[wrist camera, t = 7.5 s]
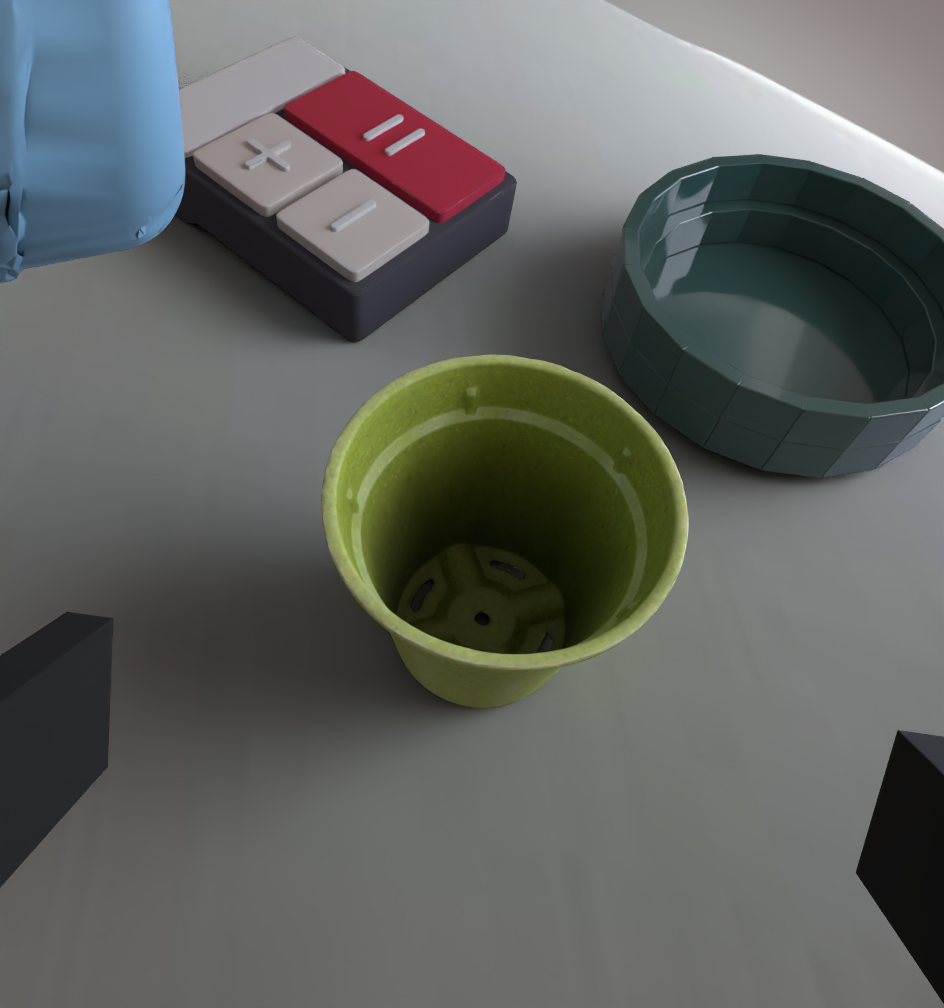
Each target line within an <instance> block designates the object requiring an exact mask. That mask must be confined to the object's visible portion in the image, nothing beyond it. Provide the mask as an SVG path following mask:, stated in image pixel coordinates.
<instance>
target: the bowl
mask: <svg viewBox="0 0 944 1008" xmlns="http://www.w3.org/2000/svg"><path fill="white" fill-rule="evenodd" d="M603 335H604V338H605V340H606V343H607V345H608V347H609V350H610V352H611V355H612V357H613V360H614V362H615V364H616V367H617V369H618V372H619V373H620V376H621V377H622V378H623V379H624V381H625V382H626V383H627V384H628V385H629V386H630V388H631V389H632V390H633V391H634V392H635V393H636V395H637V396H638V397H639V398H640V399H641V400H642V402H643V403H644V404H645V405H646V406H647V407H648V409H649V410H650V411H651V412H652V413H653V414H655V415H656V416H657V417H659V418H660V419H661V420H663V421H664V422H666V423H667V424H669V425H670V426H672V427H673V428H675V429H676V430H677V431H679V432H680V433H682V434H683V435H685V436H686V437H688V438H689V439H691V440H692V441H694V442H695V443H696V444H698V445H699V446H701V447H704V449H707V450H709V451H712V452H715V453H717V454H720V455H722V456H725V457H728V458H730V459H733V460H736V461H738V462H741V463H743V464H746V465H749V466H751V467H754V468H756V469H761V470H762V471H770V472H778V473H786V474H794V475H801V476H809V477H817V478H820V477H829V476H836V475H842V474H849V473H855V472H862V471H869V470H873V469H876V468H878V467H880V466H882V465H883V464H885V463H887V462H889V461H891V460H892V459H894V458H896V457H898V456H900V455H902V454H903V453H905V452H907V451H909V450H911V449H912V448H914V447H915V446H916V445H917V444H918V443H919V442H920V441H921V440H922V439H923V438H924V437H925V436H926V435H927V434H928V433H929V432H930V431H931V430H932V429H933V428H934V427H935V426H936V425H937V424H938V423H939V422H940V421H941V420H942V418H943V417H944V229H943V228H942V227H941V226H940V225H938V224H937V223H936V222H934V221H933V220H932V219H931V218H929V217H928V216H927V215H926V214H924V213H923V212H922V211H920V210H919V209H918V208H917V207H915V206H914V205H913V204H910V202H909V201H907V200H905V199H903V198H901V197H899V196H897V195H895V194H893V193H891V192H889V191H887V190H885V189H884V188H882V187H880V186H878V185H876V184H874V183H872V182H870V181H868V180H866V179H864V178H861V177H858V176H855V175H852V174H849V173H846V172H842V171H839V170H836V169H833V168H830V167H827V166H824V165H820V164H817V163H814V162H811V161H806V160H799V159H791V158H784V157H776V156H769V155H762V154H760V155H759V154H756V155H740V156H725V157H712V158H709V159H706V160H703V161H700V162H697V163H694V164H690V165H687V166H684V167H681V168H678V169H675V170H672V171H671V172H669V173H667V174H666V175H665V176H663V177H662V178H661V179H659V180H658V181H657V182H655V183H654V184H653V185H651V186H650V187H649V188H648V189H646V190H645V191H644V192H642V193H641V194H640V195H639V196H638V198H637V200H636V202H635V204H634V206H633V208H632V210H631V212H630V214H629V216H628V218H627V220H626V222H625V223H624V225H623V228H622V232H621V235H620V239H619V242H618V245H617V249H616V252H615V255H614V259H613V262H612V266H611V269H610V272H609V276H608V279H607V282H606V286H605V289H604V292H603Z"/></svg>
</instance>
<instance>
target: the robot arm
mask: <svg viewBox="0 0 944 1008" xmlns="http://www.w3.org/2000/svg"><path fill="white" fill-rule="evenodd" d="M184 185H185V156H184V141H183V127H182V115H181V105H180V95H179V84H178V75H177V66H176V56H175V47H174V38H173V30H172V21H171V12H170V4H169V0H0V282H8V281H12V280H14V279H16V278H17V277H18V275H19V274H20V272H21V271H22V270H23V269H27V268H32V267H38V266H43V265H48V264H54V263H59V262H64V261H69V260H75V259H80V258H85V257H90V256H96V255H101V254H106V253H112V252H117V251H122V250H127V249H130V248H134V247H137V246H139V245H141V244H144V243H146V242H148V241H150V240H151V239H153V238H154V237H156V236H157V235H158V234H160V233H161V232H162V231H163V230H164V229H165V228H166V226H167V225H168V224H169V223H170V222H171V220H172V218H173V217H174V215H175V213H176V212H177V210H178V207H179V205H180V202H181V200H182V196H183V192H184ZM112 635H113V618H106V617H99V616H92V615H85V614H78V613H71V612H66V613H65V614H63V615H62V616H60V617H59V618H57V619H55V620H54V621H52V622H51V623H49V624H48V625H46V626H45V627H43V628H42V629H40V630H39V631H37V632H36V633H34V634H33V635H31V636H30V637H28V638H26V639H25V640H23V641H22V642H20V643H19V644H17V645H16V646H14V647H13V648H11V649H10V650H8V651H7V652H5V653H4V654H2V655H1V656H0V887H1V886H2V885H3V884H4V883H5V882H6V880H7V879H8V878H9V877H10V876H11V875H12V874H13V873H14V871H15V870H16V869H17V868H18V867H19V866H20V865H21V864H22V862H23V861H24V860H25V859H26V858H27V857H28V856H29V855H30V853H31V852H32V851H33V850H34V849H35V848H36V847H37V846H38V844H39V843H40V842H41V841H42V840H43V839H44V838H45V837H46V835H47V834H48V833H49V832H50V831H51V830H52V829H53V828H54V826H55V825H56V824H57V823H58V822H59V821H60V820H61V819H62V817H63V816H64V815H65V814H66V813H67V812H68V811H69V810H70V808H71V807H72V806H73V805H74V804H75V803H76V802H77V801H78V799H79V798H80V797H81V796H82V795H83V794H84V793H85V792H86V790H87V789H88V788H89V787H90V786H91V785H92V784H93V783H94V781H95V780H96V779H97V778H98V777H99V776H100V775H101V774H102V772H103V771H104V770H105V769H106V768H107V767H108V745H109V718H110V690H111V662H112ZM856 874H857V875H858V877H859V878H860V880H861V881H862V883H863V884H864V886H865V887H866V889H867V890H868V892H869V893H870V895H871V896H872V898H873V899H874V900H875V902H876V903H877V905H878V906H879V908H880V909H881V911H882V912H883V914H884V915H885V917H886V918H887V920H888V921H889V923H890V924H891V926H892V927H893V929H894V930H895V932H896V933H897V935H898V936H899V938H900V939H901V941H902V942H903V944H904V945H905V947H906V948H907V950H908V951H909V953H910V954H911V956H912V957H913V959H914V960H915V962H916V963H917V965H918V966H919V968H920V969H921V971H922V972H923V974H924V975H925V977H926V978H927V979H928V981H929V982H930V984H931V985H932V987H933V988H934V990H935V991H936V993H937V994H938V996H939V997H940V999H941V1000H942V1002H943V1003H944V737H942V736H935V735H928V734H921V733H914V732H907V731H900V730H898V731H897V734H896V737H895V741H894V744H893V748H892V751H891V754H890V758H889V761H888V765H887V768H886V771H885V775H884V778H883V782H882V785H881V788H880V792H879V795H878V799H877V802H876V805H875V809H874V812H873V816H872V819H871V822H870V826H869V829H868V833H867V836H866V839H865V843H864V846H863V850H862V853H861V856H860V860H859V863H858V867H857V870H856Z"/></svg>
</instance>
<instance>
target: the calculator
mask: <svg viewBox="0 0 944 1008" xmlns="http://www.w3.org/2000/svg"><path fill="white" fill-rule="evenodd" d="M179 95H180V105H181V115H182V127H183V141H184V156H185V185H184V192H183V196H182V200H181V202H180V205H179V207H178V210H177V212H176V213H175V215H176V216H178V217H179V218H180V219H182V220H183V221H184V222H186V223H197V224H199V225H200V226H201V227H203V228H204V229H205V230H207V231H208V232H209V233H211V234H212V235H213V236H215V237H216V238H217V239H218V240H220V241H221V242H222V243H224V244H225V245H226V246H228V247H229V248H230V249H232V250H233V251H234V252H235V253H237V254H238V255H239V256H241V257H242V258H243V259H245V260H246V261H247V262H248V263H250V264H251V265H252V266H254V267H255V268H256V269H258V270H259V271H260V272H262V273H263V274H264V275H265V276H267V277H268V278H269V279H271V280H272V281H273V282H275V283H276V284H277V285H278V286H280V287H281V288H282V289H284V290H285V291H286V292H288V293H289V294H290V295H292V296H293V297H294V298H295V299H297V300H298V301H299V302H301V303H302V304H303V305H305V306H306V307H307V308H308V309H310V310H311V311H312V312H314V313H315V314H316V315H318V316H319V317H320V318H322V319H323V320H324V321H325V322H327V323H328V324H329V325H331V326H332V327H333V328H335V329H336V330H337V331H338V332H340V333H341V334H342V335H344V336H345V337H346V338H348V339H349V340H352V341H360V340H362V339H364V338H365V337H367V336H368V335H369V334H371V333H372V332H373V331H375V330H376V329H377V328H379V327H380V326H381V325H383V324H384V323H385V322H387V321H388V320H389V319H391V318H392V317H394V316H395V315H396V314H398V313H399V312H400V311H402V310H403V309H404V308H406V307H407V306H408V305H410V304H411V303H412V302H414V301H415V300H416V299H418V298H419V297H420V296H422V295H423V294H424V293H426V292H427V291H428V290H430V289H431V288H432V287H434V286H435V285H436V284H438V283H439V282H440V281H442V280H443V279H444V278H446V277H447V276H448V275H450V274H451V273H452V272H454V271H455V270H456V269H458V268H459V267H460V266H462V265H463V264H465V263H466V262H467V261H469V260H470V259H471V258H473V257H474V256H475V255H477V254H478V253H479V252H481V251H482V250H483V249H485V248H486V247H487V246H489V245H490V244H491V243H493V242H494V241H495V240H497V239H498V238H499V237H501V236H502V235H503V234H505V233H506V232H507V229H508V225H509V220H510V215H511V210H512V205H513V200H514V195H515V189H516V184H517V182H516V179H515V178H514V177H513V176H512V175H510V174H509V173H507V172H506V171H505V168H504V167H503V166H502V165H501V164H499V163H498V162H496V161H495V160H493V159H491V158H490V157H488V156H487V155H485V154H484V153H482V152H481V151H479V150H477V149H476V148H474V147H473V146H471V145H470V144H468V143H467V142H465V141H463V140H462V139H460V138H459V137H457V136H456V135H454V134H453V133H451V132H450V131H448V130H446V129H445V128H443V127H442V126H440V125H439V124H437V123H436V122H434V121H432V120H431V119H429V118H428V117H426V116H425V115H423V114H422V113H420V112H419V111H417V110H415V109H414V108H412V107H411V106H409V105H408V104H406V103H405V102H403V101H401V100H400V99H398V98H397V97H395V96H394V95H392V94H391V93H389V92H387V91H386V90H384V89H383V88H381V87H380V86H378V85H377V84H375V83H374V82H372V81H370V80H369V79H367V78H366V77H364V76H363V75H361V74H359V73H357V72H355V71H349V70H348V69H346V68H345V67H343V66H342V65H340V64H339V63H337V62H336V61H334V60H332V59H331V58H329V57H328V56H326V55H325V54H323V53H322V52H320V51H318V50H317V49H315V48H314V47H312V46H311V45H309V44H308V43H306V42H305V41H303V40H301V39H300V38H298V37H292V38H289V39H286V40H284V41H282V42H280V43H278V44H276V45H274V46H271V47H269V48H267V49H265V50H263V51H261V52H258V53H256V54H254V55H252V56H250V57H248V58H246V59H243V60H241V61H239V62H237V63H235V64H233V65H230V66H228V67H226V68H224V69H222V70H220V71H218V72H215V73H213V74H211V75H209V76H207V77H205V78H202V79H200V80H198V81H196V82H194V83H192V84H190V85H187V86H185V87H183V88H181V89H179Z"/></svg>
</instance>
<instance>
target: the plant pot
mask: <svg viewBox="0 0 944 1008" xmlns="http://www.w3.org/2000/svg"><path fill="white" fill-rule="evenodd" d="M322 520H323V527H324V533H325V537H326V541H327V545H328V548H329V551H330V554H331V557H332V560H333V562H334V564H335V567H336V569H337V571H338V573H339V575H340V577H341V578H342V580H343V582H344V583H345V585H346V587H347V588H348V590H349V591H350V592H351V594H352V595H353V597H354V598H355V599H356V601H357V602H358V603H359V604H360V605H361V606H362V608H363V609H364V610H365V611H366V612H367V613H368V614H369V615H370V616H371V617H372V618H373V619H374V620H376V621H377V622H378V623H379V624H380V625H381V626H382V627H384V628H385V629H386V630H388V631H389V632H390V633H391V636H392V638H393V641H394V643H395V645H396V648H397V650H398V652H399V654H400V656H401V658H402V660H403V662H404V664H405V665H406V667H407V669H408V670H409V671H410V672H411V674H412V675H413V676H414V677H415V679H416V680H417V681H418V682H419V683H421V684H422V685H423V686H424V687H425V688H427V689H428V690H429V691H430V692H432V693H433V694H435V695H437V696H439V697H441V698H442V699H445V700H447V701H449V702H452V703H456V704H459V705H463V706H468V707H473V708H492V707H497V706H501V705H505V704H509V703H512V702H516V701H518V700H520V699H523V698H525V697H527V696H529V695H531V694H533V693H534V692H536V691H537V690H538V689H540V688H541V687H542V686H543V685H544V684H545V683H546V682H547V681H548V680H549V679H550V678H552V677H553V676H554V675H555V674H556V673H557V672H558V671H559V670H560V669H561V668H562V667H564V666H568V665H571V664H575V663H579V662H582V661H585V660H587V659H590V658H592V657H595V656H597V655H599V654H601V653H603V652H605V651H607V650H609V649H611V648H612V647H614V646H616V645H618V644H619V643H621V642H622V641H624V640H625V639H627V638H628V637H629V636H631V635H632V634H633V633H635V632H636V631H637V630H638V629H639V628H640V627H641V626H642V625H643V624H644V623H645V622H646V621H647V620H648V619H649V618H650V617H651V616H652V615H653V614H654V612H655V611H656V610H657V609H658V607H659V606H660V605H661V604H662V602H663V601H664V599H665V598H666V596H667V595H668V593H669V591H670V590H671V588H672V587H673V585H674V583H675V581H676V578H677V576H678V574H679V571H680V569H681V566H682V563H683V559H684V554H685V550H686V546H687V540H688V526H689V521H688V510H687V503H686V497H685V493H684V487H683V483H682V480H681V477H680V474H679V471H678V469H677V467H676V464H675V462H674V460H673V458H672V456H671V454H670V452H669V450H668V449H667V447H666V446H665V444H664V443H663V441H662V439H661V438H660V436H659V435H658V433H657V432H656V431H655V430H654V429H653V428H652V427H651V425H650V424H649V423H648V422H647V421H646V420H645V419H644V418H643V417H642V416H641V415H640V414H639V413H637V412H636V411H635V410H634V409H633V408H632V407H631V406H630V405H629V404H628V403H626V402H625V401H624V400H623V399H622V398H621V397H619V396H618V395H616V394H615V393H614V392H613V391H611V390H610V389H608V388H607V387H605V386H604V385H602V384H600V383H598V382H596V381H594V380H592V379H591V378H588V377H586V376H584V375H582V374H580V373H577V372H573V371H571V370H569V369H567V368H565V367H562V366H560V365H556V364H552V363H549V362H546V361H542V360H535V359H527V358H523V357H518V356H511V355H479V356H468V357H459V358H452V359H448V360H444V361H440V362H436V363H433V364H430V365H427V366H424V367H421V368H419V369H416V370H414V371H411V372H409V373H407V374H405V375H403V376H401V377H400V378H398V379H396V380H394V381H392V382H391V383H389V384H387V385H386V386H385V387H383V388H382V389H380V390H379V391H378V392H376V393H375V394H374V395H373V396H372V397H371V398H369V399H368V400H367V401H366V402H365V403H364V404H363V405H362V406H361V407H360V408H359V409H358V410H357V412H356V413H355V414H354V415H353V417H352V418H351V419H350V420H349V422H348V423H347V425H346V426H345V427H344V429H343V431H342V432H341V434H340V436H339V437H338V439H337V441H336V443H335V445H334V447H333V449H332V452H331V455H330V457H329V459H328V463H327V466H326V471H325V476H324V480H323V487H322ZM493 560H498V561H500V562H503V563H505V564H508V565H513V566H515V567H517V568H518V569H520V570H521V571H522V572H523V573H524V578H523V579H518V578H516V577H515V576H512V575H510V574H509V573H507V572H505V571H502V570H500V569H498V568H495V567H491V566H490V562H492V561H493ZM427 580H433V581H434V585H433V587H432V588H431V589H430V591H429V592H428V593H427V595H426V596H425V598H424V600H423V602H422V605H421V608H420V610H419V611H416V612H414V611H413V609H412V599H413V597H414V595H415V594H416V593H417V591H418V589H419V587H420V586H421V585H422V584H423V583H424V582H426V581H427ZM480 612H483V613H485V614H487V615H488V616H489V618H490V621H489V624H487V625H480V624H478V623H477V622H476V621H475V616H476V614H478V613H480ZM547 632H549V635H550V637H551V644H550V651H549V652H542V653H537V652H538V650H539V649H540V646H541V644H542V641H543V639H544V638H545V633H547Z"/></svg>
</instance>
